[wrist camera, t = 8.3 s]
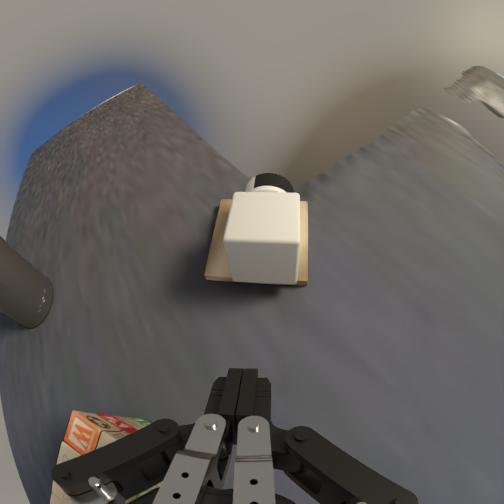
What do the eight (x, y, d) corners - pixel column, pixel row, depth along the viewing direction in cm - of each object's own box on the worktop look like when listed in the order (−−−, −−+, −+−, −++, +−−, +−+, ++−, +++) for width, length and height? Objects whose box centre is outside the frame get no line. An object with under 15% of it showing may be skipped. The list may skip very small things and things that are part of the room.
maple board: (206, 279, 34) (204, 275, 33) (222, 205, 40) (221, 199, 39) (306, 285, 32) (307, 281, 31) (306, 207, 38) (307, 201, 37)
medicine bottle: (296, 285, 30) (297, 210, 38) (300, 242, 25) (298, 166, 32) (231, 282, 31) (244, 208, 38) (221, 239, 25) (239, 165, 33)
